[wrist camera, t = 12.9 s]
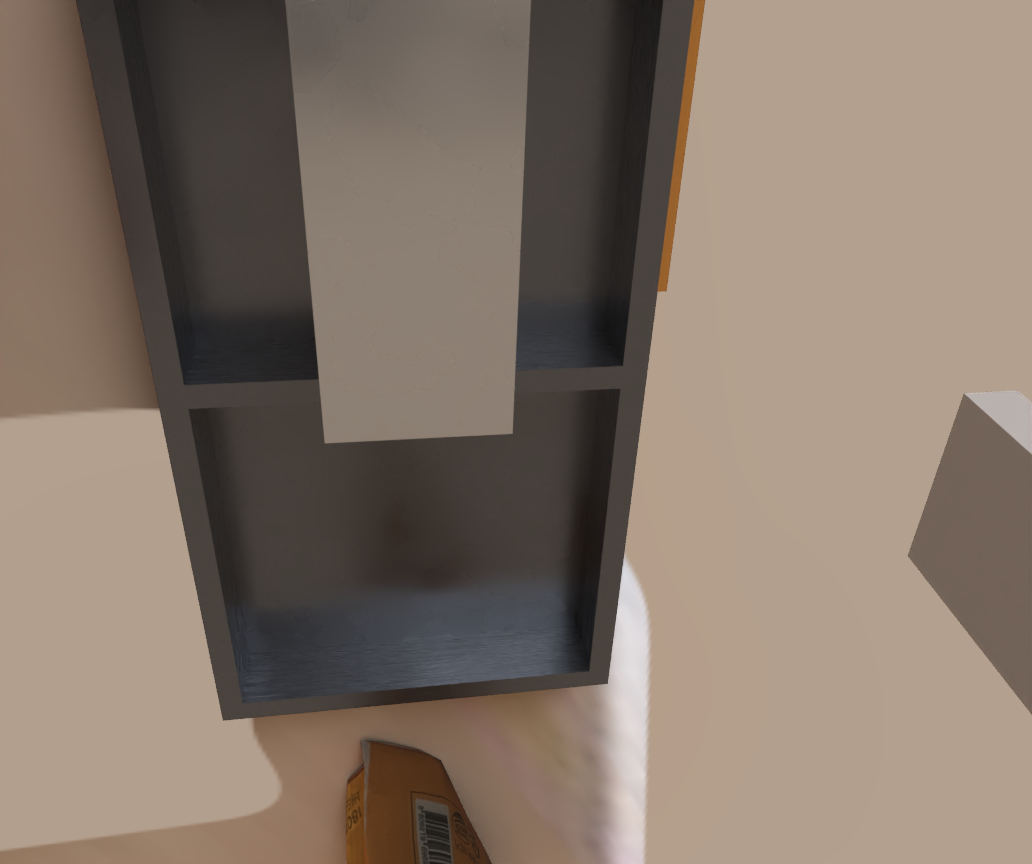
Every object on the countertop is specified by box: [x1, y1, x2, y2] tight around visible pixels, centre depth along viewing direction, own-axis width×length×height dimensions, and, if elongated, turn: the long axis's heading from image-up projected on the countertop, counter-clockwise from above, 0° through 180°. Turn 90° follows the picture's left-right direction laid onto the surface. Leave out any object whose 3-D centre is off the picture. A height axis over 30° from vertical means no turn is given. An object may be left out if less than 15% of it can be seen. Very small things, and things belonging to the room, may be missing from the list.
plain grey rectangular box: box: [285, 0, 531, 443], centre depth 23 cm, size 4×10×8 cm, turn 178°
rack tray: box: [76, 0, 705, 720], centre depth 29 cm, size 15×28×4 cm, turn 178°
